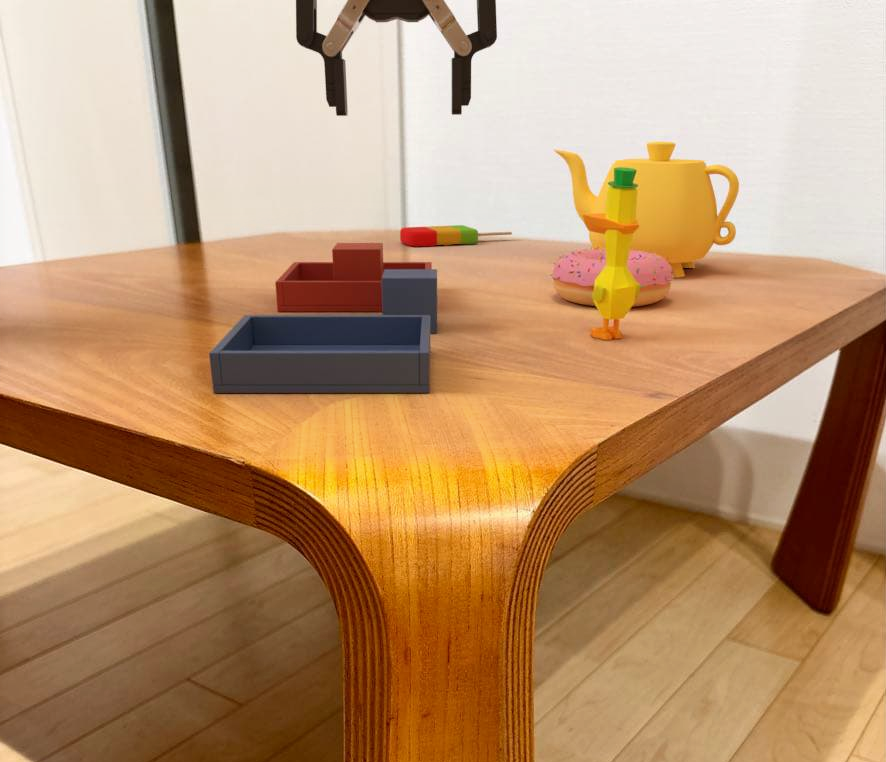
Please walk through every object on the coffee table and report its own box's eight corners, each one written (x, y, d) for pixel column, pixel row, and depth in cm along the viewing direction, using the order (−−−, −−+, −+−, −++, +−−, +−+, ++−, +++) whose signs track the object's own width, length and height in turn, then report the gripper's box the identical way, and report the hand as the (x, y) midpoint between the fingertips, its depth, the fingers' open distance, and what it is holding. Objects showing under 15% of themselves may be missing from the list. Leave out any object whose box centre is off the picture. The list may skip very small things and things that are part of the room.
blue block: (382, 333, 71) (381, 277, 69) (385, 322, 74) (384, 269, 73) (437, 333, 71) (437, 277, 69) (437, 322, 74) (437, 269, 73)
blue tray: (213, 393, 56) (208, 352, 55) (247, 349, 66) (244, 314, 65) (429, 393, 56) (429, 352, 55) (430, 349, 66) (430, 314, 65)
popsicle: (397, 242, 120) (397, 227, 119) (502, 237, 124) (503, 223, 123) (410, 247, 115) (410, 232, 114) (519, 242, 120) (520, 227, 119)
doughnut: (566, 285, 90) (569, 241, 88) (679, 293, 86) (684, 247, 85) (536, 305, 81) (538, 256, 79) (661, 314, 77) (666, 263, 75)
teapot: (720, 284, 90) (738, 145, 85) (529, 271, 98) (534, 142, 92) (739, 265, 102) (755, 140, 96) (566, 255, 109) (573, 138, 104)
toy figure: (561, 329, 72) (570, 165, 67) (598, 325, 73) (610, 164, 68) (612, 347, 66) (626, 170, 61) (651, 342, 68) (668, 168, 63)
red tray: (277, 311, 78) (275, 281, 77) (295, 288, 88) (293, 261, 87) (431, 311, 78) (431, 281, 77) (431, 288, 88) (431, 261, 87)
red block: (334, 298, 81) (332, 249, 79) (339, 289, 85) (336, 242, 83) (381, 298, 81) (380, 249, 79) (384, 289, 85) (382, 242, 83)
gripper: (495, -138, 65) (491, 114, 71) (293, -138, 64) (309, 115, 71) (503, -168, 58) (498, 115, 65) (278, -168, 58) (296, 116, 64)
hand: (399, 115), depth 68 cm, fingers open, 8 cm apart
